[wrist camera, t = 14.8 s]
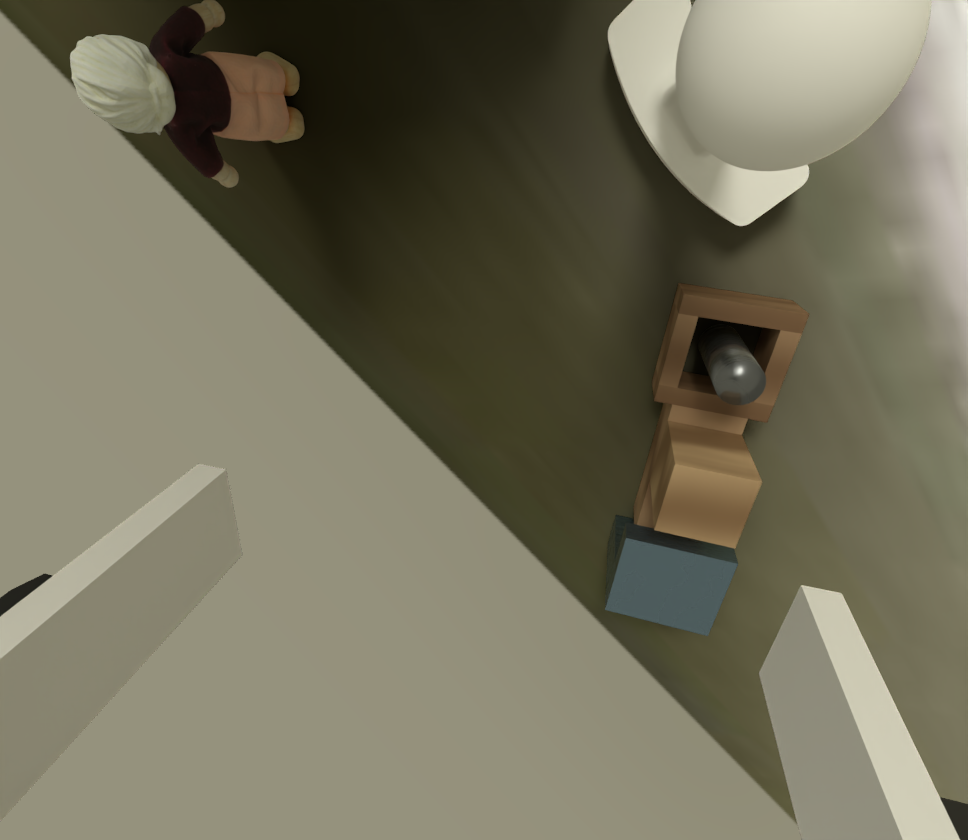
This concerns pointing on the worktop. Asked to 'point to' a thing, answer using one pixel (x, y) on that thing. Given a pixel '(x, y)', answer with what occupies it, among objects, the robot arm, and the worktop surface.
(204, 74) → the grandmother figurine
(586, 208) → the worktop surface
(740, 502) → the square loop handle
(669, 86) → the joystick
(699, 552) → the bracket
